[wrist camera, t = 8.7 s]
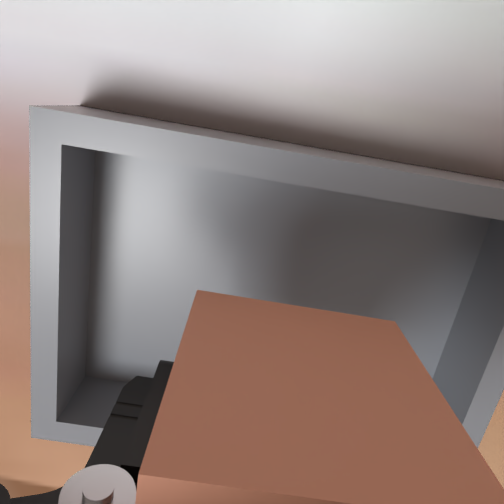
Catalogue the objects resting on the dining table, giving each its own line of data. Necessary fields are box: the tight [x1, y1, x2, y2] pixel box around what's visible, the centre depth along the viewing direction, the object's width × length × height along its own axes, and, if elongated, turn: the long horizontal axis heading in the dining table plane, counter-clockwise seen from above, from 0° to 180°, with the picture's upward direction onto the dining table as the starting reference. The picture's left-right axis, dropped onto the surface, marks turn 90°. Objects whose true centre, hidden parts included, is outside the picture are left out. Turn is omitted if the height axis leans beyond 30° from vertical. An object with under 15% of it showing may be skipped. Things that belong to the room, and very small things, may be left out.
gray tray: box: [29, 106, 504, 449], centre depth 17 cm, size 18×13×4 cm
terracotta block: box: [135, 290, 504, 504], centre depth 9 cm, size 6×6×6 cm
